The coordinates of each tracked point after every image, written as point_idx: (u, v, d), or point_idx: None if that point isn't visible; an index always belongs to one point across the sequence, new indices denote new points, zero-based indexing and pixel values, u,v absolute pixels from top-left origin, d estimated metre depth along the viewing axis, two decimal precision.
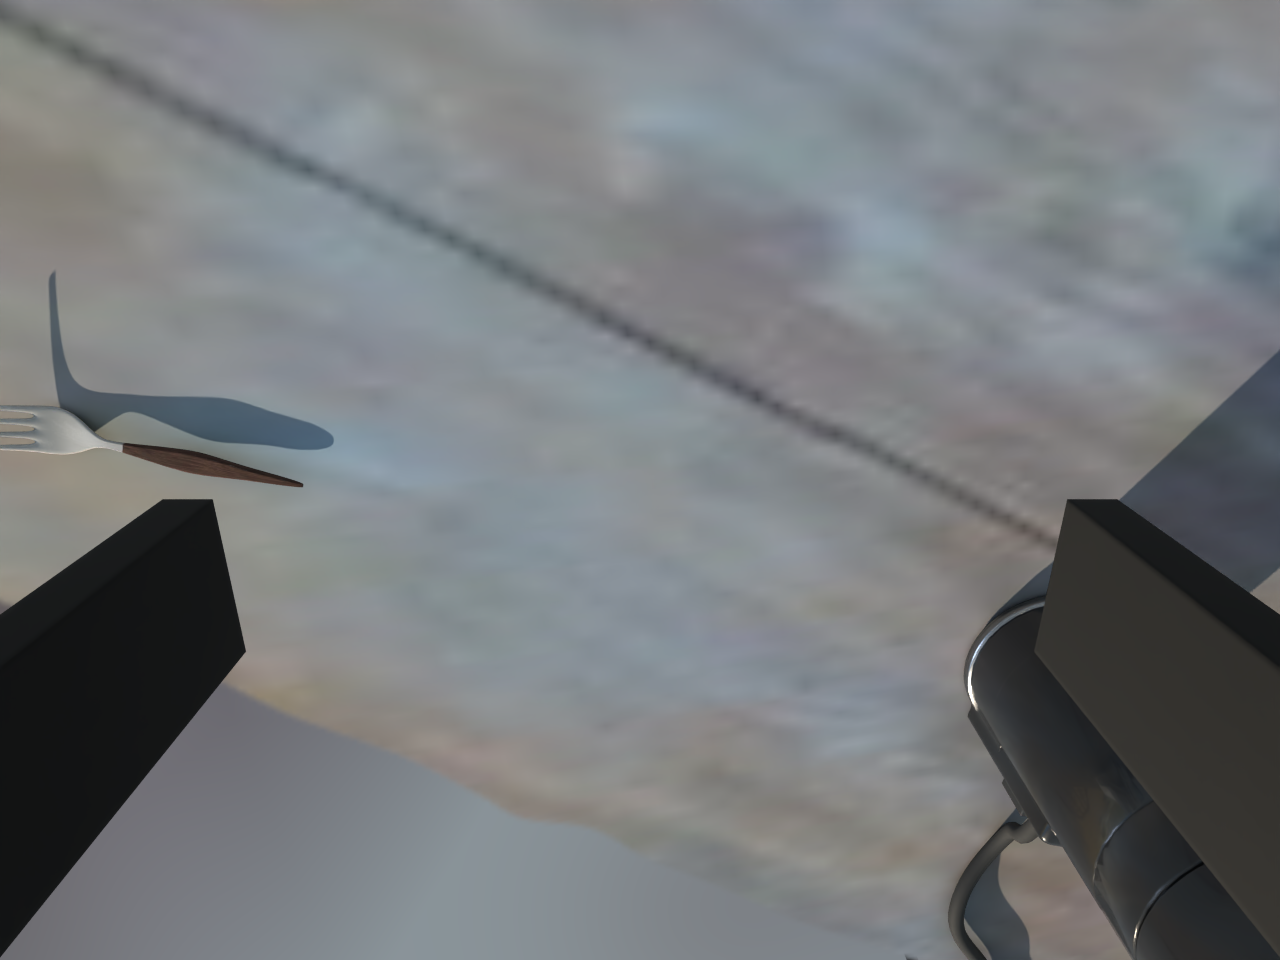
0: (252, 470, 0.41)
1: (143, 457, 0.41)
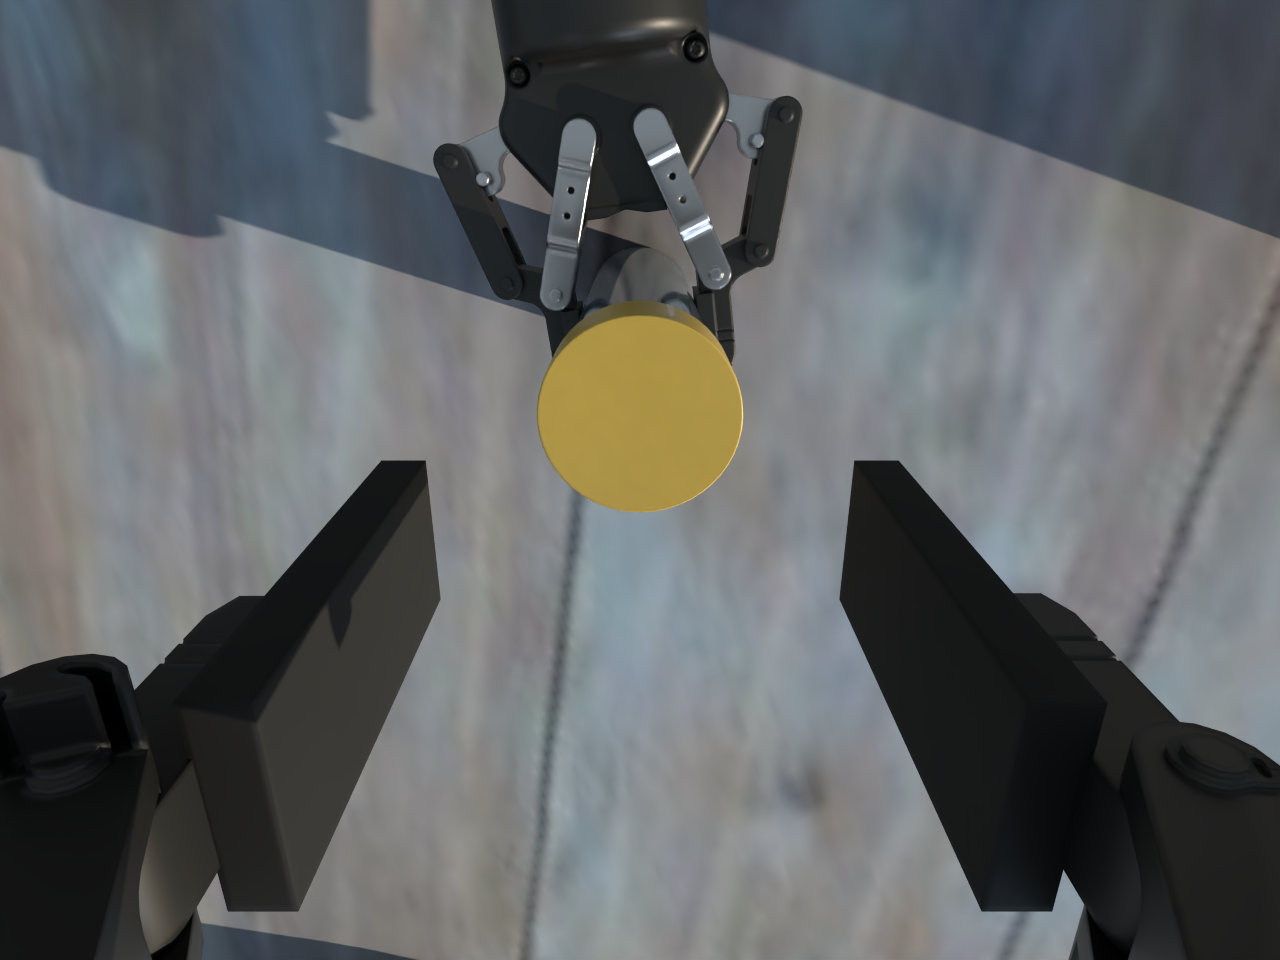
0: None
1: None
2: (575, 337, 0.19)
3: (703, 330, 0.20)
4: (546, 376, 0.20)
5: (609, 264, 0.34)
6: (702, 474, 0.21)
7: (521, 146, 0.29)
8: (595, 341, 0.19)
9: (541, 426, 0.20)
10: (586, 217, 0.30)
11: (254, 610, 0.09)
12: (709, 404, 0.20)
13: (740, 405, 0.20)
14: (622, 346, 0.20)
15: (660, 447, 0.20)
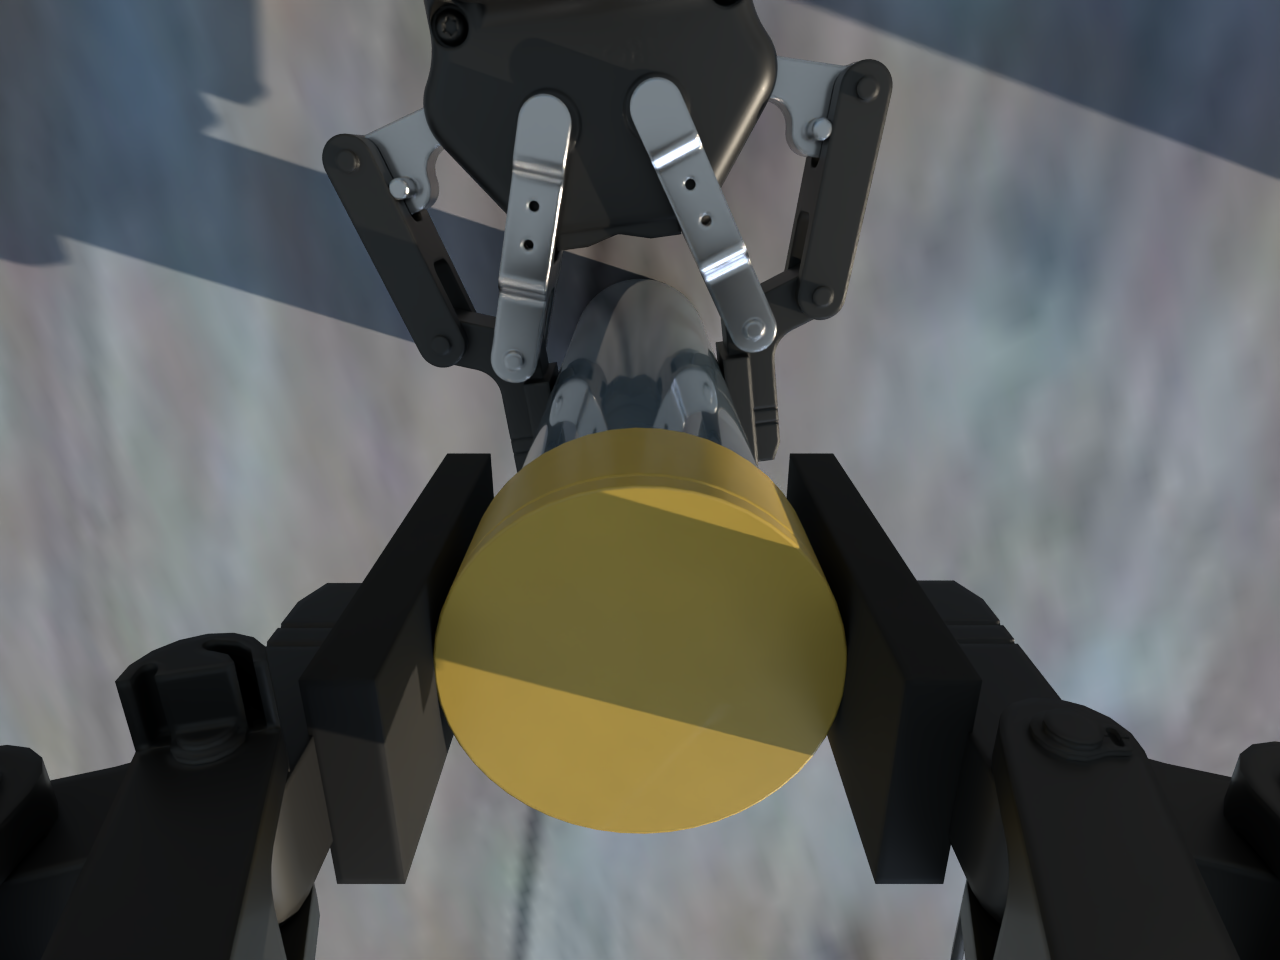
0: None
1: None
2: (505, 529, 0.09)
3: (766, 498, 0.10)
4: (448, 601, 0.10)
5: (596, 307, 0.24)
6: (761, 772, 0.11)
7: (457, 138, 0.19)
8: (547, 536, 0.09)
9: (443, 690, 0.10)
10: (559, 246, 0.20)
11: (356, 594, 0.09)
12: (780, 652, 0.10)
13: (842, 653, 0.10)
14: (603, 546, 0.09)
15: (680, 727, 0.10)
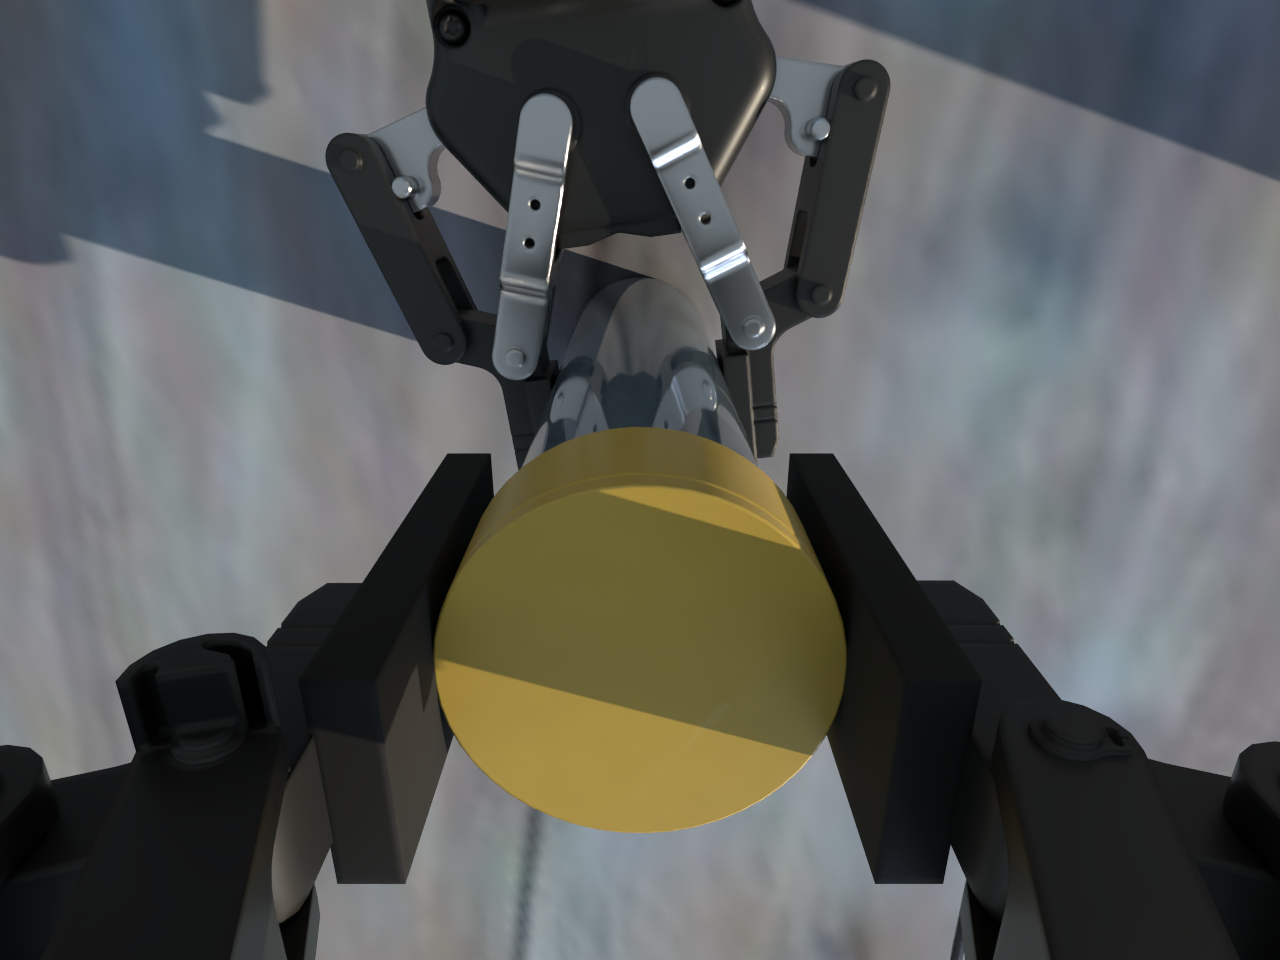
0: None
1: None
2: None
3: (515, 496, 0.10)
4: (520, 798, 0.11)
5: (597, 305, 0.25)
6: (795, 593, 0.10)
7: (459, 137, 0.19)
8: (471, 713, 0.10)
9: (610, 825, 0.11)
10: (560, 244, 0.20)
11: (356, 594, 0.09)
12: (646, 550, 0.09)
13: (665, 490, 0.09)
14: (489, 674, 0.10)
15: (710, 655, 0.10)
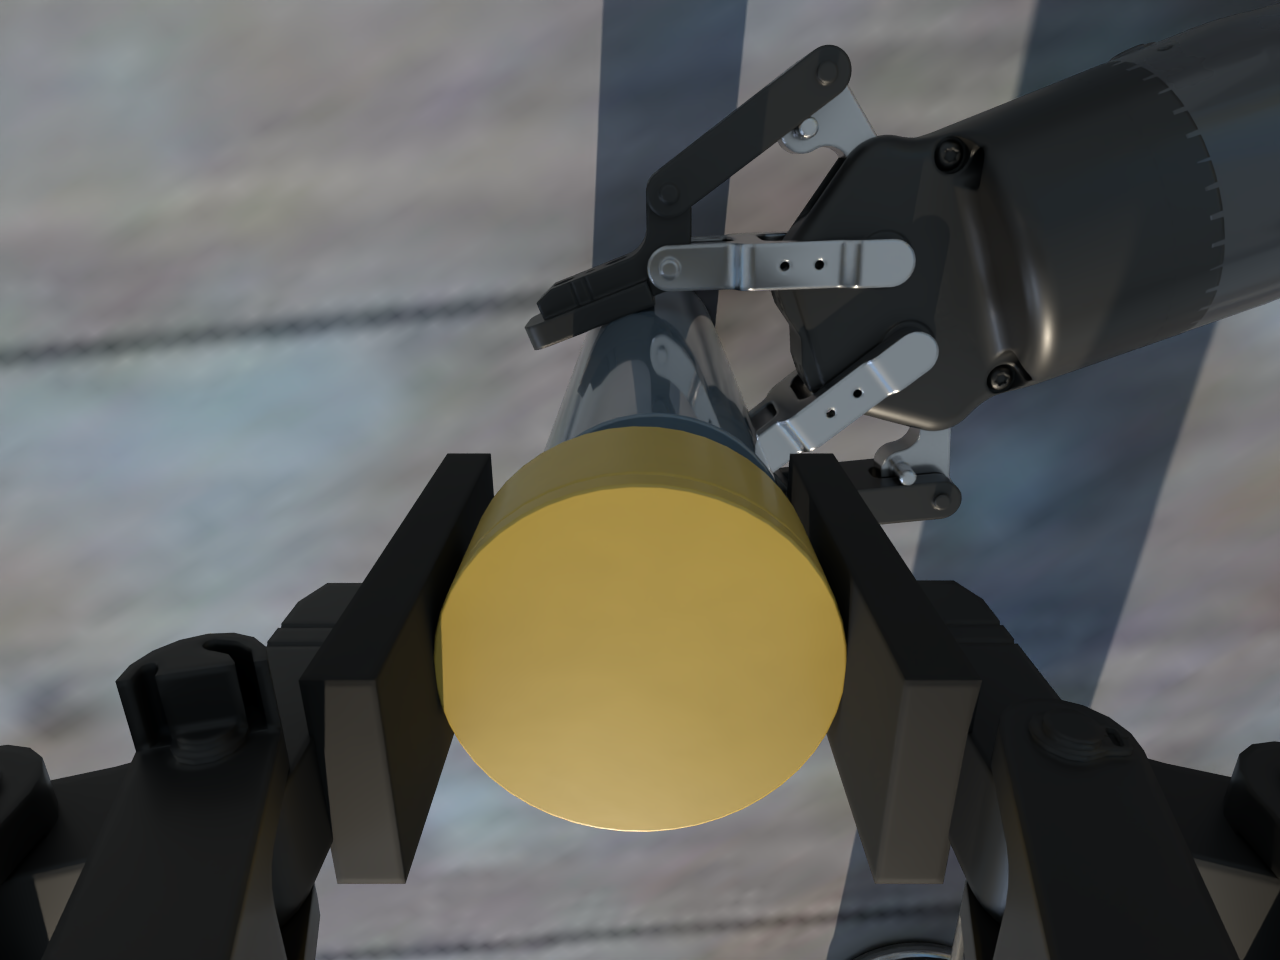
0: None
1: None
2: (458, 739, 0.10)
3: (515, 495, 0.10)
4: (520, 796, 0.11)
5: (699, 307, 0.26)
6: (795, 592, 0.10)
7: (860, 178, 0.21)
8: (472, 711, 0.10)
9: (610, 824, 0.11)
10: None
11: (356, 594, 0.09)
12: (646, 548, 0.09)
13: (665, 490, 0.09)
14: (490, 673, 0.10)
15: (710, 654, 0.10)
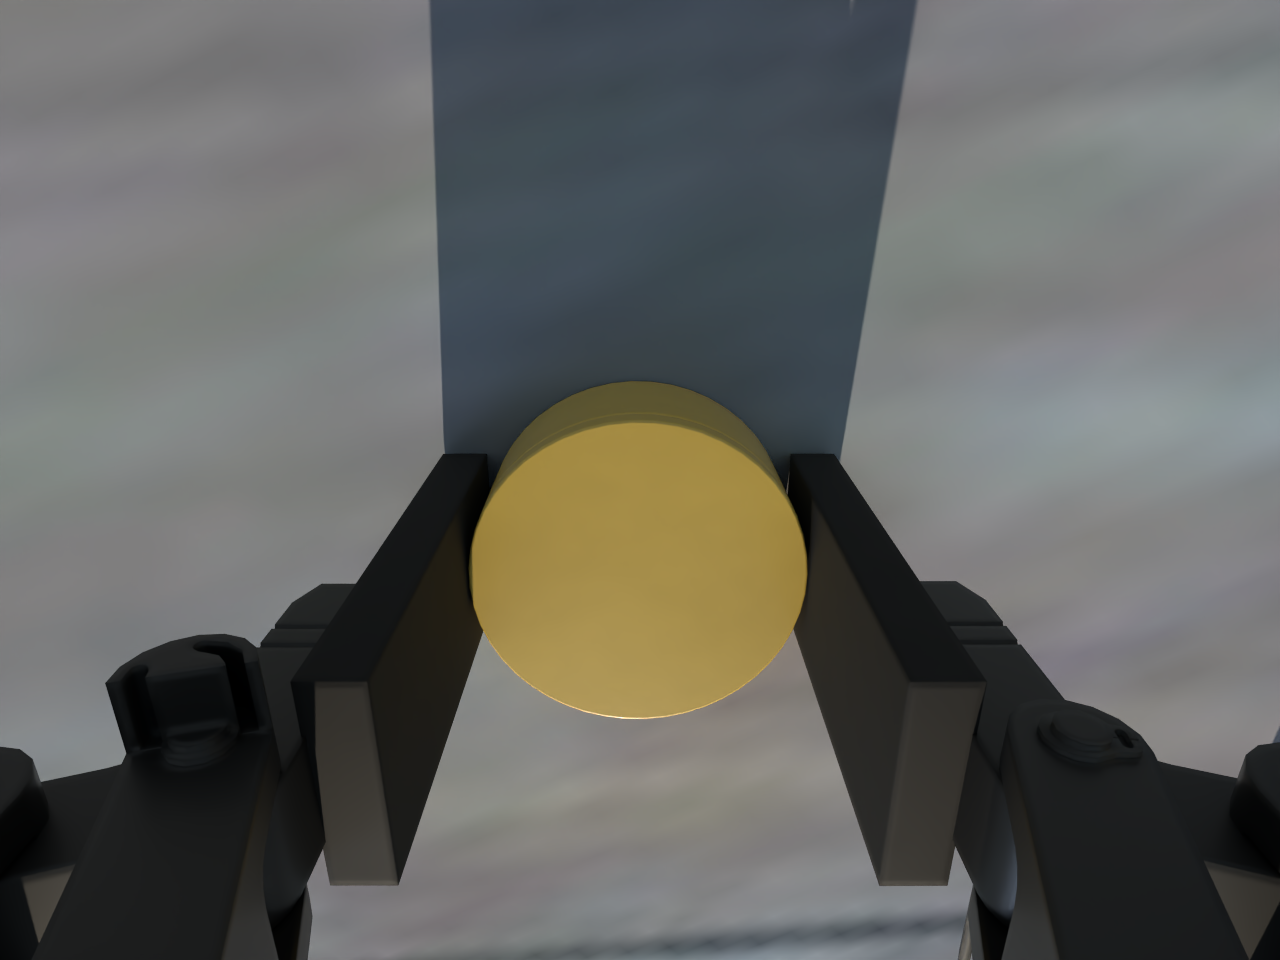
0: None
1: None
2: (488, 639, 0.13)
3: (535, 435, 0.12)
4: (539, 688, 0.13)
5: None
6: (764, 510, 0.12)
7: None
8: (499, 614, 0.12)
9: (614, 712, 0.13)
10: None
11: (350, 596, 0.09)
12: (643, 474, 0.12)
13: (658, 425, 0.11)
14: (515, 580, 0.12)
15: (696, 563, 0.12)
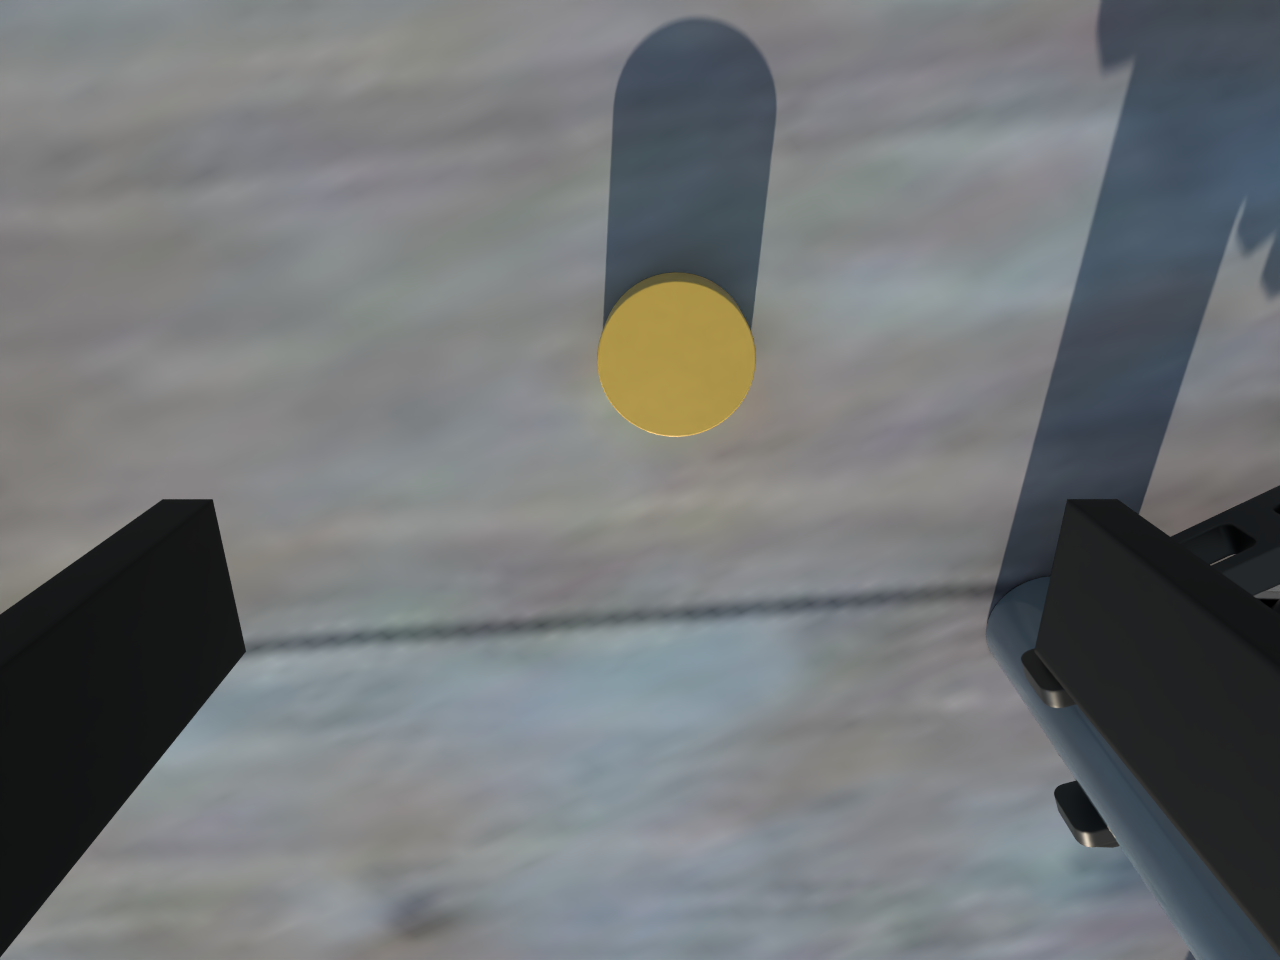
0: None
1: None
2: (604, 391, 0.27)
3: (628, 293, 0.26)
4: (627, 418, 0.27)
5: None
6: (734, 325, 0.26)
7: None
8: (610, 378, 0.27)
9: (663, 433, 0.27)
10: None
11: None
12: (679, 307, 0.26)
13: (686, 283, 0.25)
14: (618, 360, 0.26)
15: (703, 352, 0.26)
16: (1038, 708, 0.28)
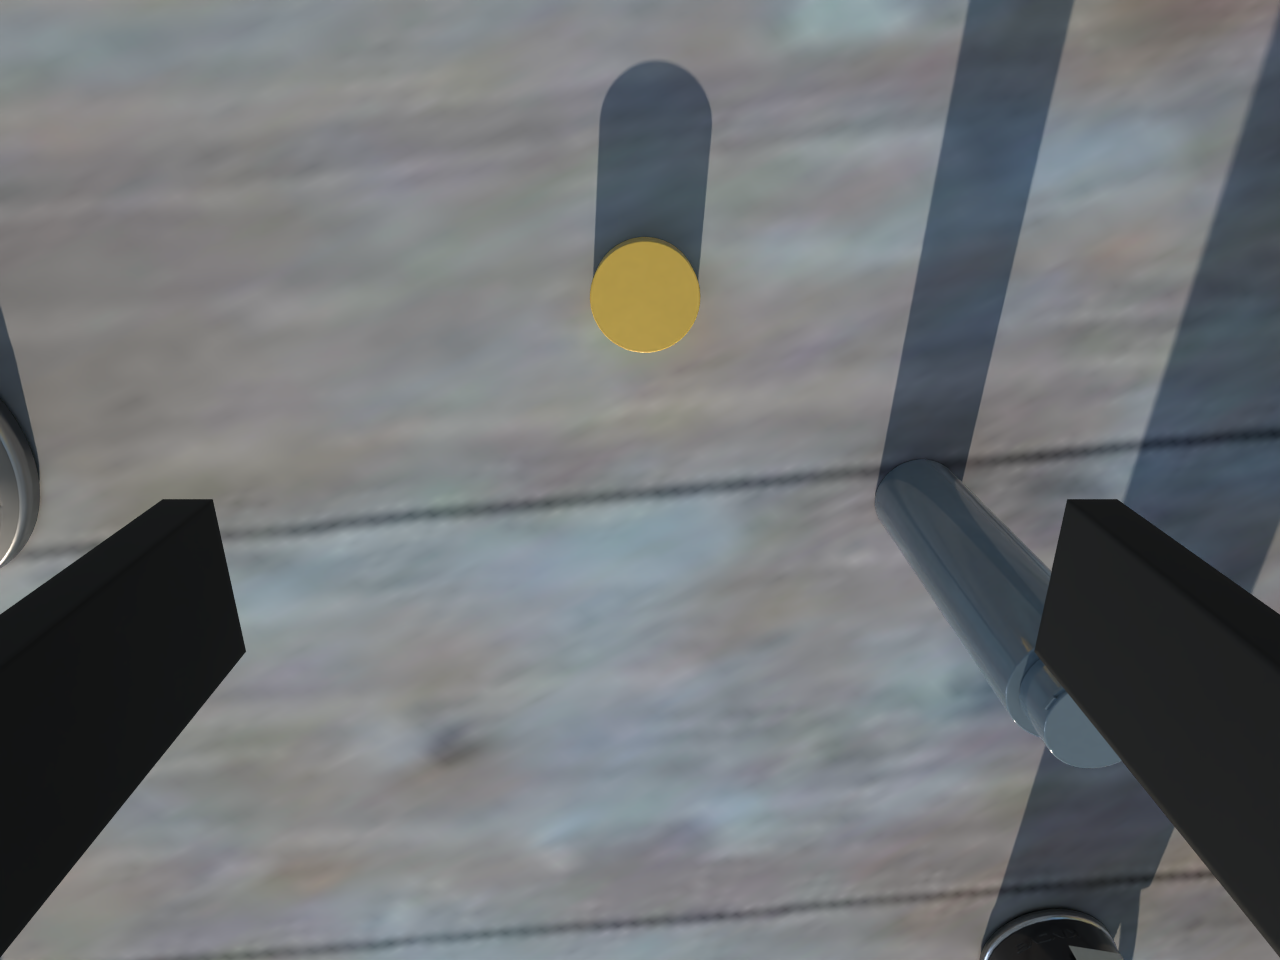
0: None
1: None
2: (595, 319, 0.38)
3: (611, 251, 0.38)
4: (611, 339, 0.39)
5: (972, 492, 0.40)
6: (685, 272, 0.37)
7: None
8: (599, 310, 0.38)
9: (636, 350, 0.39)
10: None
11: None
12: (646, 259, 0.37)
13: (651, 242, 0.37)
14: (605, 297, 0.38)
15: (663, 291, 0.38)
16: (901, 542, 0.40)
